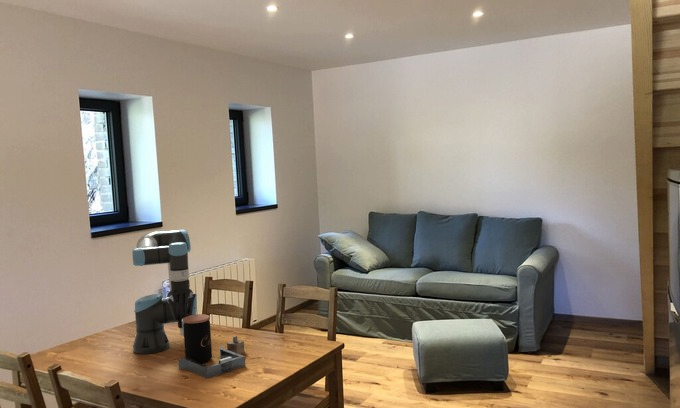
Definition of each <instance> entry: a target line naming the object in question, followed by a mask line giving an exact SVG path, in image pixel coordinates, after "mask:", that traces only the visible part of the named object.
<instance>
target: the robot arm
mask: <svg viewBox="0 0 680 408" xmlns="http://www.w3.org/2000/svg"><path fill="white" fill-rule="evenodd" d="M189 235H190V234H189V233H188V230H186V229H178V228H177V229H172V230H159V231H151V232H148V233H146V234H144V235H142V236H140V238H139V239H138V240H137V243H136V248H133V249H132V252H131V253H132V264H133V266H136V267H143V266H151V265H165V264H167V270H168V281H169V282H168V284H169V291H168V292H167V295H166V296H164V297H163V295H162V294H161V293H153V294H149V295H148V294H147V295H144V296H141V297H140V298H138V299H136V301H135V302H134V314H135V315H134V316H135V317H134V318H135V330H136V333H135V336H134V341H133V345H132V351H133V353H135V354H138V355H139V354H140V355H148V354H155V353H160V352H163V351H165V350H167V349H169V348H170V340H169V338H168V336H167V334H166V331H165V324H166V325H167V324H172V323H173V324H174V323H177V327H178V329H179V335H180V336H183V337H184V329H183V325H184V322H183V318H185V317H187V316H190V315H197V313H198V312H197V311H198V310H197V306H198V305H197V304H198V294H197V293H194V292H193V291H194V290H192V289H191V288H190V286H191V284H190V279H189V278H190V274H189V273H190V271H189V253H190V252H191V249H192V248H191V242H190V241H191V240H190V236H189Z"/></svg>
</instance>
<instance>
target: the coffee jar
mask: <svg viewBox="0 0 680 408" xmlns="http://www.w3.org/2000/svg"><path fill="white" fill-rule="evenodd" d="M210 319H211V316H210V315H208V314H204V313H202V314H201V313H199V314H198V313H196V315H190V316H187V317H185V318H183V322H184V325H183V329H184V336H183V340H184V342H183V343H184V358H187V359H192V360H194V361H197V362H199V363H201V364H204V365H206V364H207V363H209V362H210V361H211V360H212V358H213V353H212V352H213V351H212V350H213V349H212V348H213V347H212V335H211V334H212V332H211V321H210Z"/></svg>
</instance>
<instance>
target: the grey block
mask: <svg viewBox="0 0 680 408" xmlns="http://www.w3.org/2000/svg"><path fill="white" fill-rule="evenodd" d="M226 347H227V348H226V350H229V351H232V352H234V353H237V354H240V355H243V354H244V353H245V341H244V340H239V339H238V335H233V336H232V340H231V341H228V342H226Z"/></svg>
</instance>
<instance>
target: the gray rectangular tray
mask: <svg viewBox="0 0 680 408" xmlns="http://www.w3.org/2000/svg"><path fill="white" fill-rule="evenodd" d="M219 354H220V356H219V357H220V359H218V363H216V364H211V365H209V366H208V365H206V364H201V363H199V362H197V361H194V360H192V359H187V358H185V357H182V358H181V357H180V358H178V360H177V361H178V370H183V371H189V372H191V373H193V374H196V375H198V376H201V377H203V378H204V379H206V380H209V379H212V378H214V377H218V376H220V375H224V374H227V373H230V372H232V371H235V370H239V369H241V368H244V367H246V356H245V355H243V354H241V355H240V354H237V353H234V352H232V351H229V350H227V348H226V349H225V347H224V345H222V346H221V345H220V346H219Z"/></svg>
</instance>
